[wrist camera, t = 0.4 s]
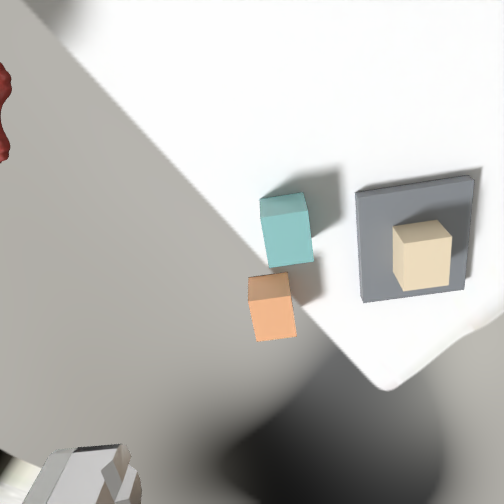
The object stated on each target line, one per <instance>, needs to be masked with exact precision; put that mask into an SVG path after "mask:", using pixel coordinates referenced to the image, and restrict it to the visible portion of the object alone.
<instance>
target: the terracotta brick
mask: <svg viewBox="0 0 504 504" xmlns="http://www.w3.org/2000/svg"><path fill="white" fill-rule="evenodd" d="M248 283H249V284H248V303H249V308H250V312H251V317H252V322H253V326H254V331H255V336H256V340H257V342H258V341H265V340H273V339H281V338H289V337H296V336H297V334H296V327H295V319H294V312H293V305H292V298H291V292H290V286H289V279H288V272H285V273H278V274H268V275H261V276H253V277H249V281H248Z"/></svg>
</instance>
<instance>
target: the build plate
mask: <svg viewBox="0 0 504 504" xmlns="http://www.w3.org/2000/svg"><path fill="white" fill-rule="evenodd" d="M473 190H474V179H473V178H471V177H470V176H469V175H465V176H459V177H452V178H446V179H439V180H433V181H427V182H420V183H414V184H407V185H401V186H395V187H388V188H382V189H375V190H369V191H363V192H356V193H355V201H356V220H357V238H358V257H359V275H360V294H361V298H362V301H363V303H367V302H375V301H382V300H390V299H397V298H405V297H412V296H420V295H427V294H435V293H442V292H450V291H457V290H464V286H465V275H466V265H467V254H468V243H469V233H470V222H471V211H472V201H473Z"/></svg>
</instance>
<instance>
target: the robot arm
mask: <svg viewBox="0 0 504 504" xmlns="http://www.w3.org/2000/svg"><path fill="white" fill-rule="evenodd" d="M130 459H131V454H130V451H129V449H128V447H127V445H126V444H114V445H101V446H90V447H89V446H88V447H78V448H71V449H58V450H55V451H54V452H53V453H51V454H50V455H49V457H48V458H47V460H46V462H45V464H44V466H43V467H42V469H41V471H40V473H39V474H38V476H37V478H36V480H35V482H34V483H33V485H32V487H31V489H30V491H29V492H28V494H27V496H26V498H25V499H24V501H23V503H22V504H141V497H142V488H141V481H140V477H139V475H138V472H137V471H136V470H135V469H134V468H132V467H131V466H129V462H130Z"/></svg>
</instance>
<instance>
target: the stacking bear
mask: <svg viewBox="0 0 504 504" xmlns="http://www.w3.org/2000/svg"><path fill="white" fill-rule="evenodd" d="M11 91H12V87H11V76H10V74H9V73H8V72H7V71H6V70H5V68H4V66H3V65H2V63H0V115H1V109H2V105H3V103H4V102H5V100H6V99H7V98H8V97H9V96H10V94H11ZM9 150H10V143H9V140H8V138H7V137H6V134H5V133H4V131H3V128H2V124H1V116H0V163H1V162H2V161H4V160H7V159H8V157H9Z"/></svg>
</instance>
